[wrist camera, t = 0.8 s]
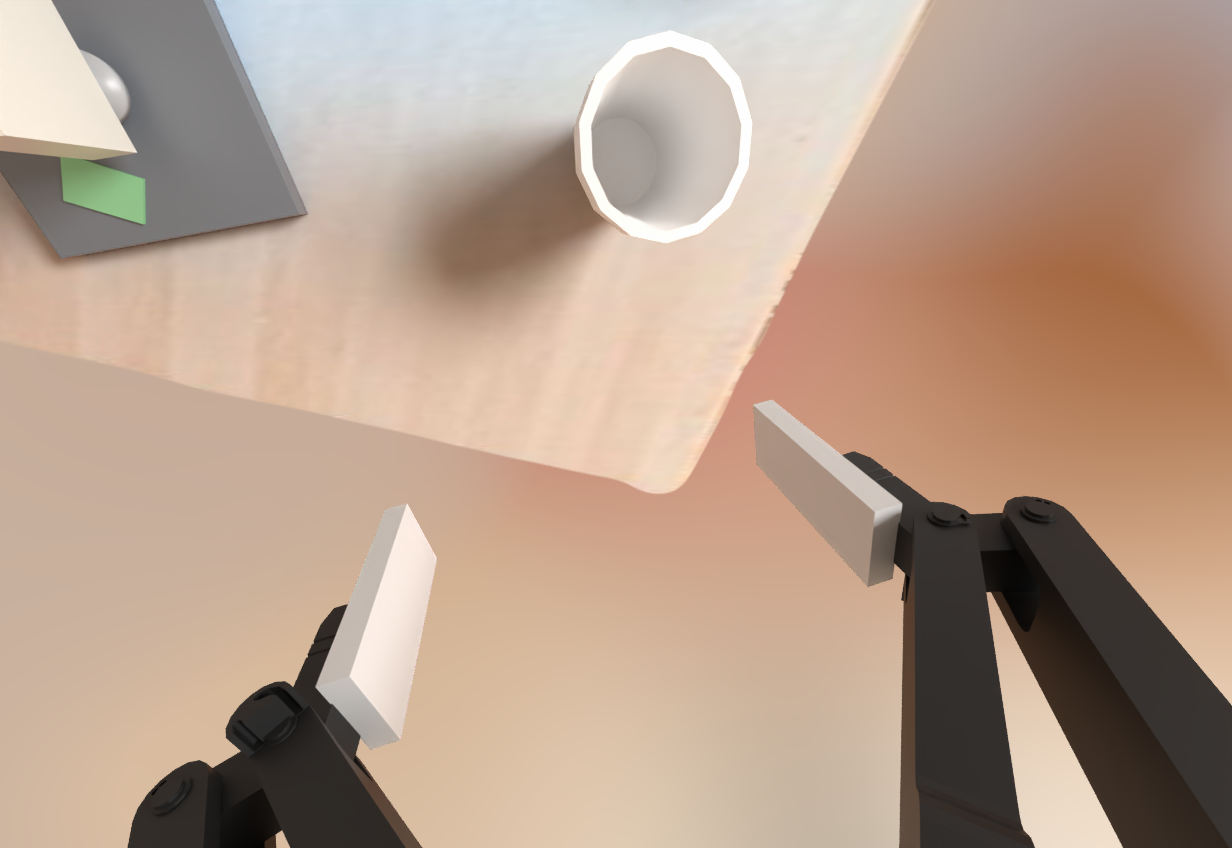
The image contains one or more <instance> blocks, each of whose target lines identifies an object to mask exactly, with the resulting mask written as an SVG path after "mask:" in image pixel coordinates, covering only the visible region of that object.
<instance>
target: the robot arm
mask: <svg viewBox="0 0 1232 848" xmlns="http://www.w3.org/2000/svg"><path fill="white" fill-rule="evenodd" d="M753 412H754V428H755V444H756V460H757V465H758V466H759V467H760V468H761V469H762V470H763V471H764V473H765V474H766V475H767V476H768V477H769V478H770V479H771V480H772V481H773V483H774V484H775V485H776V486H777V487H778V488H779V489H780V490H781V492H782V493H783V494H784V495H785V496H786V497H787V498H788V499H789V500H790V502H792V504H793V505H794V506H795V507H796V508H797V509H798V510H799V511H800V513H801V514H802V515H803V516H804V517H805V518H806V519H807V520H808V521H809V523H810V524H811V525H812V526H813V527H814V528H815V529H816V530H817V531H818V533H819V534H820V535H821V536H822V537H823V538H824V539H825V540H826V541H827V542H828V544H829V545H830V546H831V547H832V548H833V549H834V550H835V551H836V552H837V554H838V555H839V556H840V557H841V558H842V559H843V560H844V561H845V562H846V564H847V565H848V566H849V567H850V568H851V569H852V570H853V571H854V572H855V573H856V574H857V576H858V577H859V578H860V579H861V580H862V581H863V582H864V583H865V585H866V586H867V587H869V586H872V585H875V584H878V583H881V582H884V581H887V580H890V579H893V571H894V564H896V565H897V566H898V567H899V568H900V569H901V570H902V571H903V572H904V573H905V579H904V586H903V592H902V599H901V600H902V601H904V615H903V616H904V617H903V672H902V674H903V675H902V730H901V731H902V732H901V788H900V844H899V848H1035V847H1034V844H1033V842H1032V839H1031V837H1030V836H1029V835H1028V834H1027V833H1026V832H1025V831H1024V830H1023V827H1022V824H1021V820H1020V815H1019V808H1018V803H1017V795H1016V789H1015V782H1014V775H1013V768H1012V762H1011V755H1010V749H1009V742H1008V735H1007V728H1006V721H1005V715H1004V708H1003V701H1002V695H1001V688H1000V682H999V675H998V668H997V662H996V654H995V648H994V641H993V635H992V628H991V621H990V614H989V608H988V601H987V594H986V592H991V593H992V595H993V597H994V599H995V600H996V603H997V604H998V606H999V608H1000V610H1001V612H1002V614H1003V616H1004V618H1005V620H1006V622H1007V624H1008V626H1009V628H1010V630H1011V632H1012V633H1013V635H1014V637H1015V639H1016V641H1017V643H1018V645H1019V647H1020V649H1021V651H1022V653H1023V655H1024V656H1025V659H1026V661H1027V663H1028V664H1029V666H1030V668H1031V670H1032V672H1033V674H1034V676H1035V678H1036V680H1037V682H1038V684H1039V686H1040V688H1041V690H1042V691H1043V693H1044V695H1045V697H1046V699H1047V701H1048V703H1049V705H1050V707H1051V709H1052V711H1053V713H1054V715H1055V717H1056V719H1057V720H1058V723H1059V724H1060V726H1061V728H1062V730H1063V732H1064V734H1065V736H1066V738H1067V740H1068V742H1069V744H1070V746H1071V748H1072V749H1073V751H1074V753H1075V755H1076V757H1077V759H1078V761H1079V763H1080V765H1081V767H1082V769H1083V771H1084V773H1085V775H1086V777H1087V778H1088V781H1089V782H1090V784H1091V786H1092V788H1093V790H1094V792H1095V794H1096V795H1097V798H1098V800H1099V802H1100V804H1101V805H1102V808H1103V810H1104V811H1105V813H1106V815H1107V817H1108V819H1109V821H1110V823H1111V825H1112V827H1113V829H1114V831H1115V832H1116V834H1117V836H1118V839H1119V841H1120V842H1121V844H1122V846H1123V848H1232V706H1231V704H1230V703H1229V702H1228V700H1227V699H1226V698H1225V697H1224V696H1223V694H1222V693H1221V692H1220V691H1219V690H1218V688H1217V687H1216V686H1215V685H1214V684H1213V682H1212V681H1211V680H1210V679H1209V678H1208V677H1207V675H1206V674H1205V673H1204V672H1203V671H1202V669H1201V668H1200V667H1199V666H1198V665H1197V663H1196V662H1195V661H1194V660H1193V659H1192V657H1191V656H1190V655H1189V654H1188V653H1187V651H1186V650H1185V649H1184V648H1183V647H1182V645H1181V644H1180V643H1179V642H1178V641H1177V639H1176V638H1175V637H1174V636H1173V635H1172V633H1171V632H1170V631H1169V630H1168V629H1167V627H1166V626H1165V625H1164V624H1163V623H1162V621H1161V620H1160V619H1159V618H1158V617H1157V616H1156V614H1155V613H1154V612H1153V611H1152V609H1151V608H1150V607H1149V606H1148V605H1147V603H1145V601H1144V600H1143V599H1142V597H1141V596H1140V595H1139V594H1138V593H1137V592H1136V591H1135V589H1134V588H1133V587H1132V586H1131V584H1130V583H1129V582H1128V581H1127V580H1126V578H1125V577H1124V576H1123V575H1122V574H1121V572H1120V571H1119V570H1118V569H1117V568H1116V567H1115V565H1114V564H1113V563H1112V562H1111V561H1110V559H1109V558H1108V557H1107V556H1106V554H1105V553H1104V552H1103V551H1102V550H1101V549H1100V547H1099V546H1098V545H1097V544H1096V542H1095V541H1094V540H1093V539H1092V538H1091V537H1090V536H1089V534H1088V533H1087V532H1086V531H1085V529H1084V528H1083V527H1082V526H1081V525H1080V523H1079V522H1078V521H1077V520H1076V519H1075V517H1074V516H1073V515H1072V514H1071V513H1070V512H1069V511H1068V510H1066V509H1065V508H1064V507H1062V506H1060V505H1058V504H1056V503H1054V502H1052V501H1049V500H1046V499H1042V498H1038V497H1028V496H1023V497H1015V498H1012V499H1010V500H1008V501H1007V503H1006V504H1005V506H1004V510H1003V513H992V514H969V513H968V512H967V511H966V510H964V509H962V508H960V507H958V506H955V505H952V504H948V503H944V502H930V501H928V500H927V499H926V498H924V497H923V496H922V495H920V494H919V493H918V492H916V491H915V490H913V489H912V488H911V487H910V486H908V485H907V484H905V483H904V482H903V481H901V480H900V479H899V478H897V477H896V476H893V474H892V473H891V472H889V471H888V470H887V469H883V467H882V466H881V465H880V464H878V463H877V462H875V461H874V460H873V459H871V458H870V457H867V456H865V455H862V454H859V453H857V452H851V453H847V454H844V455H841V454H840V453H838V452H837V451H836V450H835V449H833V448H832V447H831V446H830V445H828V444H827V443H826V442H825V441H823V440H822V439H821V438H819V437H818V436H817V435H816V434H814V433H813V432H812V431H811V430H809V429H808V428H807V427H806V426H805V425H803V424H802V423H801V422H799V421H798V420H797V419H796V418H794V417H793V416H792V415H790V414H789V413H788V412H787V411H786V410H784V409H783V408H782V407H781V406H779V405H778V404H777V403H776V402H774V401H773V400H769V401H765V402H761V403H758V404H754V405H753ZM436 561H437V558H436V556H435V554H434V552H433V551H432V549H431V547H430V545H429V543H428V542H427V539H426V538H425V536H424V534H423V532H422V530H421V528H420V527H419V525H418V523H417V521H416V519H415V517H414V515H413V513H412V512H411V510H410V508H409V506H408V504H407V503H406V504H403V505H399V506H396V507H393V508H389V509H385V512H384V514H383V517H382V520H381V522H380V524H379V527H378V529H377V532H376V535H375V537H374V540H373V542H372V545H371V547H370V550H369V552H368V555H367V557H366V560H365V562H364V565H363V568H362V570H361V573H360V575H359V578H358V580H357V583H356V585H355V588H354V590H353V593H352V595H351V598H350V601H349V603H348V604H347V605H343V606H340V607H336V608H334V609H333V610H332V611H331V613H330V614H329V615H328V617H327V618H326V619H325V620H324V621H323V623H322V624H321V625H320V628H319V630H318V632H317V634H316V637H315V639H314V644H312V646H311V648H310V650H309V653H308V658H306V660H305V662H304V664H303V666H302V669H301V671H300V673H299V676H298V678H297V680H296V682H295V685H294V687H292V686H291V685H290V684H288V683H286V682H285V681H283V682H274V683H272V684H269V685H267V686H264V687H262V688H261V689H259V690H258V691H256V692H255V693H253V694H252V695H251V696H249V697H248V698H247V699H246V700H245V701H244V702H243V703H242V704H241V705H240V706H239V707H238V708H237V710H236V711H235V712H234V714H233V715H232V716H231V718H230V720H229V723H228V725H227V727H226V738H227V739H228V740H229V741H230V742H231V743H232V744H234V745H235V746H236V747H237V748H238V749H239V750H241V752H239V753H237V754H236V755H234V756H233V757H231V758H229V759H227V760H226V761H224V762H222V763H220V764H219V765H217V766H215V767H214V768H211V767H210V766H209V765H208V764H207V763H205V762H202V761H200V760H198V761H193V762H188V763H186V764H184V765H182V766H181V767H179V768H177V769H175V770H174V771H172V772H171V773H170V774H168V775H167V776H166V777H164V778H163V779H162V780H161V781H160V782H159V783H158V784H157V785H156V786H155V787H154V788H153V789H152V790H151V791H150V792H149V793H148V794H147V796H146V797H145V799H144V800H143V801H142V803H141V804H140V806H139V807H138V809H137V812H136V814H135V817H134V819H133V823H132V827H131V833H130V838H129V843H128V848H276V835H275V834H277V833H278V832H280V831H281V830H282V831H283V833H284V834H285V837H286V839H287V841H288V844H289V846H290V848H422V847H421V845H420V844H419V842H418V841H417V840H416V838H415V837H414V836H413V834H412V833H411V831H410V830H409V828H408V827H407V826H406V824H405V823H404V821H403V820H402V819H401V817H400V816H399V814H398V813H397V811H396V810H395V808H394V807H393V806H392V804H391V803H390V801H389V800H388V799H387V797H386V796H385V794H384V793H383V791H382V790H381V789H380V787H379V786H378V784H377V783H376V782H375V780H374V779H373V777H372V776H371V774H370V773H369V772H368V770H367V769H366V767H365V766H364V764H363V763H362V762H361V761H360V759H359V758H358V757H357V756H356V751H357V748H358V744H359V740H360V738H361V739H362V740H363V741H364V743H365V744H366V745H367V746H368V747H369V748H370V750H372V749H375V748H378V747H381V746H384V745H387V744H390V743H393V742H396V741H399V740H401V736H402V731H403V725H404V721H405V716H406V711H407V706H408V701H409V696H410V691H411V686H412V681H413V676H414V671H415V666H416V661H417V656H418V651H419V646H420V641H421V636H422V631H423V626H424V621H425V616H426V611H427V606H428V601H429V596H430V591H431V586H432V581H433V576H434V571H435V566H436Z"/></svg>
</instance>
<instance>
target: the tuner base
mask: <svg viewBox="0 0 1232 848" xmlns="http://www.w3.org/2000/svg"><path fill="white" fill-rule="evenodd" d="M51 1H52V2H53V4H54V6H55V8H56V10H57V11H58V13H59V15H60V17H61V18H62V20H63V22H64V24H65V25H66V27H67V29H68V31H69V33H70V34H71V36H72V38H73V40H74V41H75V43H76V45H77V47H78V49H80V50H83V51H85V52H88V53H91V54H93V55H96V56H97V57H99V58H101V59H102V60H104V61H105V62H107V63H108V64H109V65H110V66H112V67H113V68H114V69H115V70H116V71H117V73H118V74H119V75H120V76H121V78H122V79H123V81H124V82H125V84H126V86H127V88H128V90H129V93H130V97H131V111H130V114H129V116H128V117H127V119H126V120H125V121H123V122H122V123H121V125H122V126H123V128H124V130H125V132H126V134H127V135H128V137H129V139H130V141H131V142H132V144H133V146H134V148H135V149H136V151H137V153H134V154H128V155H122V156H116V157H110V158H104V159H98V160H86V159H76V158H67V157H57V156H47V155H37V154H27V153H17V152H7V151H0V172H1V173H2V175H3V176H4V178H5V179H6V180H7V182H8V183H9V185H10V186H11V188H12V189H13V190H14V192H15V193H16V195H17V196H18V198H19V199H20V200H21V202H22V203H23V205H24V206H25V208H26V209H27V211H28V212H29V213H30V215H31V216H32V218H33V219H34V221H35V222H36V223H37V225H38V226H39V228H40V229H41V231H42V232H43V234H44V235H45V236H46V238H47V239H48V241H49V242H50V244H51V245H52V246H53V248H54V249H55V251H56V252H57V254H58V255H59V256H60V258H67V257H76V256H82V255H88V254H93V253H99V252H104V251H109V250H115V249H120V248H126V247H131V246H137V245H142V244H147V243H153V242H158V241H164V240H169V239H175V238H180V237H185V236H191V235H196V234H202V233H207V232H213V231H218V230H223V229H229V228H234V227H240V226H245V225H250V224H256V223H261V222H267V221H272V220H278V219H283V218H288V217H294V216H299V215H305V214H308V213H307V211H306V209H305V206H304V204H303V202H302V200H301V197H300V195H299V193H298V190H297V188H296V186H295V184H294V181H293V179H292V177H291V174H290V172H289V170H288V168H287V165H286V163H285V161H284V159H283V156H282V154H281V152H280V149H279V147H278V145H277V143H276V140H275V138H274V136H273V133H272V131H271V129H270V127H269V124H268V122H267V120H266V118H265V115H264V113H263V111H262V108H261V106H260V104H259V102H258V99H257V97H256V95H255V92H254V90H253V88H252V86H251V83H250V81H249V79H248V76H247V74H246V72H245V70H244V67H243V65H242V63H241V61H240V58H239V56H238V54H237V51H236V49H235V47H234V45H233V42H232V40H231V38H230V35H229V33H228V31H227V29H226V26H225V24H224V22H223V20H222V17H221V15H220V13H219V10H218V8H217V6H216V4H215V1H214V0H51Z"/></svg>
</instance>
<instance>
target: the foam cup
mask: <svg viewBox="0 0 1232 848" xmlns="http://www.w3.org/2000/svg"><path fill="white" fill-rule="evenodd" d="M751 131H752V120H751V116H750V113H749V109H748V106H747V102H746V99H745V95H744V92H743V88H742V85H741V81H740V78H739V77H738V76H737V74H736V73H735V72H734V71H733V70H732V69H731V67H730V66H729V65H728V64H727V63H726V62H725V60H724V59H723V58H722V57H721V56H720V55H719V53H718V52H717V51H716V50H715V49H714V48H713V46H712V45H711V44H709V43H706V42H703V41H700V40H697V39H694V38H691V37H688V36H685V35H682V34H679V33H677V32H674V31H667V32H663V33H659V34H655V35H652V36H648V37H644V38H640V39H636V40H633V41H629V42H628V43H627V44H626V45H625V46H624V47H623V48H622V49H621V50H620V51H619V52H618V53H617V54H616V55H615V56H614V57H613V58H612V59H611V60H610V61H609V62H608V63H607V64H606V65H605V66H604V67H603V68H602V69H601V70H600V71H599V72H598V73H597V74H596V75H595V77H594V78H593V80H592V81H591V83H590V84H589V86H588V89H587V92H586V94H585V97H584V100H583V103H582V106H581V109H580V112H579V114H578V117H577V120H576V123H575V126H574V146H575V164H576V174H577V176H578V178H579V180H580V183H581V185H582V187H583V189H584V191H585V193H586V195H587V197H588V199H589V201H590V203H591V205H592V208H593V210H594V211H596V212H597V213H598V214H599V215H600V216H602V217H603V218H604V219H605V220H606V221H608V222H609V223H610V224H611V225H612V226H614V227H615V228H616V229H617V230H618V231H620V232H621V233H623V234H626V235H630V236H634V237H639V238H644V239H649V240H653V241H658V242H663V243H668V242H672V241H675V240H678V239H682V238H685V237H688V236H692V235H695V234H698V233H701V232H702V231H703V230H704V229H705V228H707V227H708V226H709V225H710V224H711V223H712V222H713V221H714V220H715V219H716V218H718V217H719V216H720V215H721V214H722V213H723V212H724V211H725V210H726V209H727V208H729V207H730V205H731V203H732V201H733V199H734V196H735V194H736V192H737V190H738V188H739V186H740V184H741V182H742V180H743V178H744V176H745V173H746V171H747V169H748V164H749V153H750V142H751Z"/></svg>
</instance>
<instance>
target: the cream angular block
mask: <svg viewBox="0 0 1232 848" xmlns="http://www.w3.org/2000/svg"><path fill="white" fill-rule="evenodd" d="M130 111H131V97H130V93H129V90H128V88H127V86H126V84H125V82H124V81H123V79H122V78H121V76H120V75H119V74H118V73H117V71H116V70H115V69H114V68H113V67H112V66H110V65H109V64H108V63H107V62H105V61H104V60H102V59H101V58H99V57H97V56H96V55H93V54H91V53H88V52H85V51H83V50H80V49H78V47H77V45H76V43H75V41H74V40H73V38H72V36H71V34H70V33H69V31H68V29H67V27H66V25H65V24H64V22H63V20H62V18H61V17H60V15H59V13H58V11H57V10H56V8H55V6H54V4H53V2H52V1H51V0H0V151H7V152H17V153H27V154H37V155H47V156H57V157H67V158H76V159H86V160H98V159H104V158H110V157H116V156H122V155H128V154H134V153H137V151H136V149H135V148H134V146H133V144H132V142H131V141H130V139H129V137H128V135H127V134H126V132H125V130H124V128H123V126H122V125H121V123H122V122H123V121H125V120H126V119H127V117H128V116H129V114H130Z"/></svg>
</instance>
